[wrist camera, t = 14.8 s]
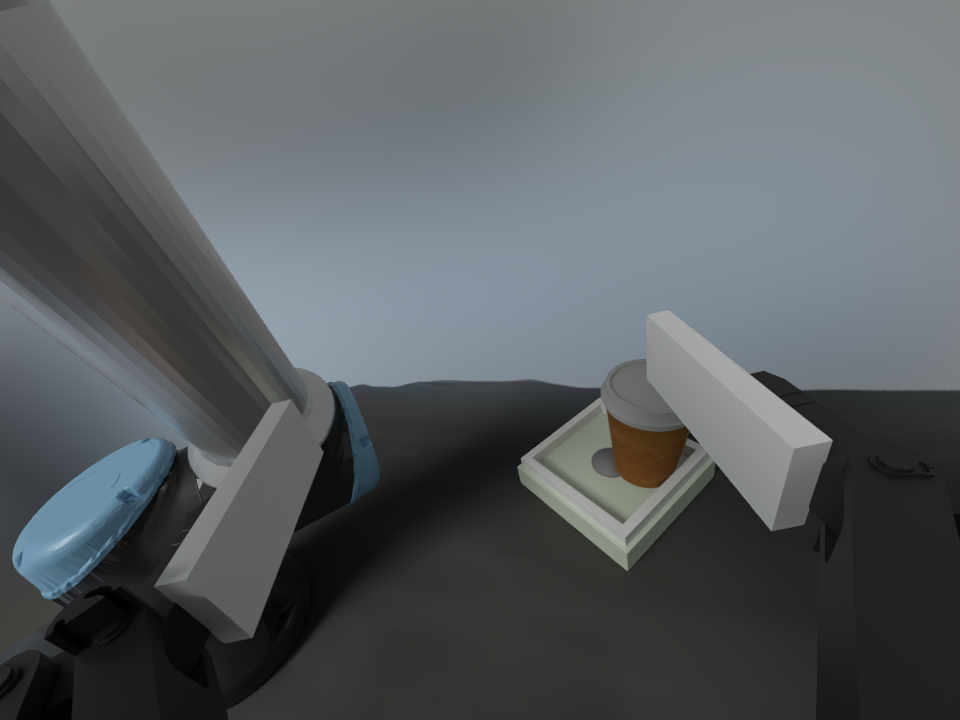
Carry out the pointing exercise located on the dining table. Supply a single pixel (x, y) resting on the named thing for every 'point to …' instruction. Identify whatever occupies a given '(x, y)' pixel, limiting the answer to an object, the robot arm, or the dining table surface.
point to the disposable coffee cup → (641, 426)
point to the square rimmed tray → (609, 486)
